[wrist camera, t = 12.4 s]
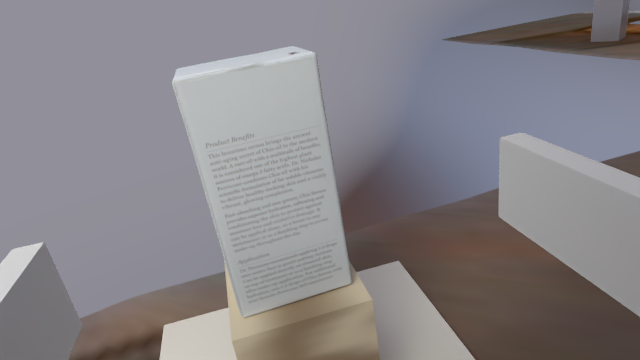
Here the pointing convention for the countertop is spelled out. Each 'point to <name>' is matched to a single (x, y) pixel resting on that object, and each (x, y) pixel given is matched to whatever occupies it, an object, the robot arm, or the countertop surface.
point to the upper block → (309, 327)
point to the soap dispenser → (609, 20)
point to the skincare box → (267, 174)
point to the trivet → (390, 318)
